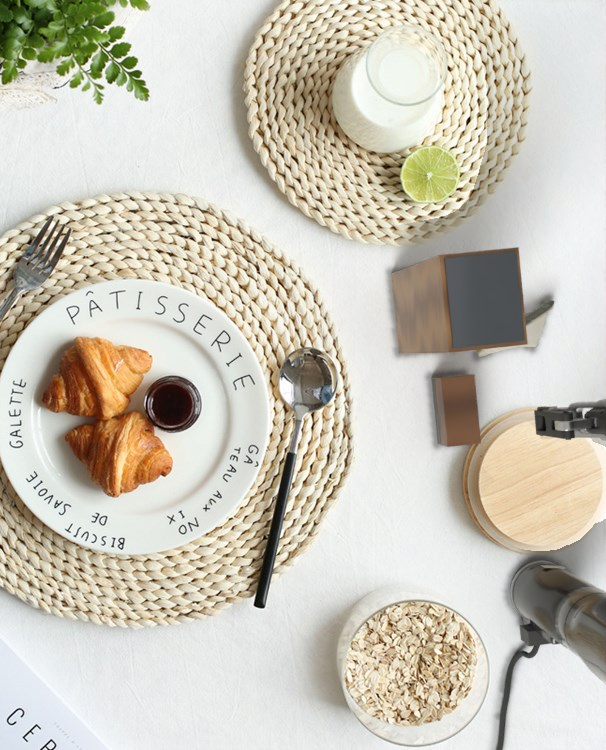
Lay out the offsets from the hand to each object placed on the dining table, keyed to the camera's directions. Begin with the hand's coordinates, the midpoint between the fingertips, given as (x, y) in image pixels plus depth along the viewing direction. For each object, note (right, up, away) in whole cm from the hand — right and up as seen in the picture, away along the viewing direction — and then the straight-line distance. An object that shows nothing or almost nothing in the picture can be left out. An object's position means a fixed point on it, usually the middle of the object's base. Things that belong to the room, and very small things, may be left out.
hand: (579, 412), depth 88 cm
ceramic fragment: (+5, +11, +36) cm, 38 cm away
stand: (-8, +14, +35) cm, 39 cm away
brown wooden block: (-4, -1, +36) cm, 36 cm away
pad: (-6, +13, +13) cm, 20 cm away
